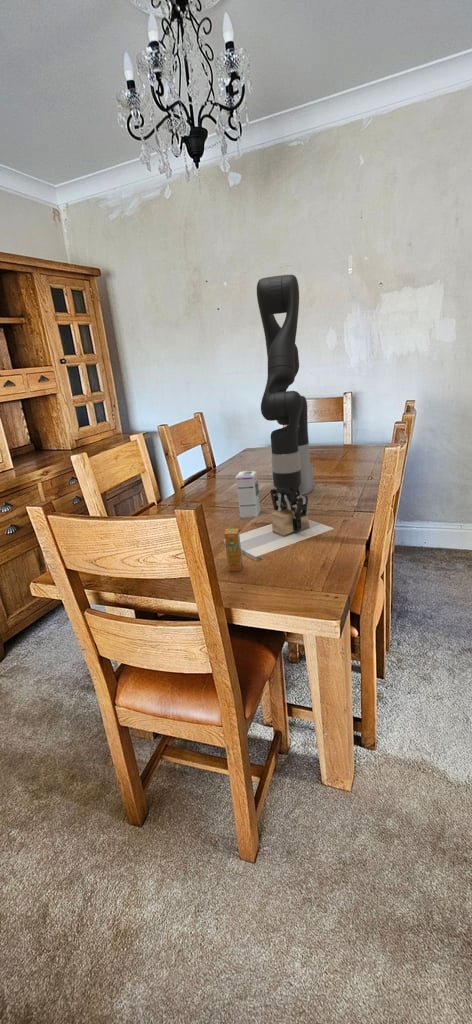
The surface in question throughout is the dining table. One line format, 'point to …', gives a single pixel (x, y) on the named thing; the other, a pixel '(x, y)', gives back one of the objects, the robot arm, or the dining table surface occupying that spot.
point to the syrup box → (248, 494)
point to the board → (274, 539)
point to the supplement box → (233, 549)
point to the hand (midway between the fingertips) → (290, 527)
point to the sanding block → (287, 522)
